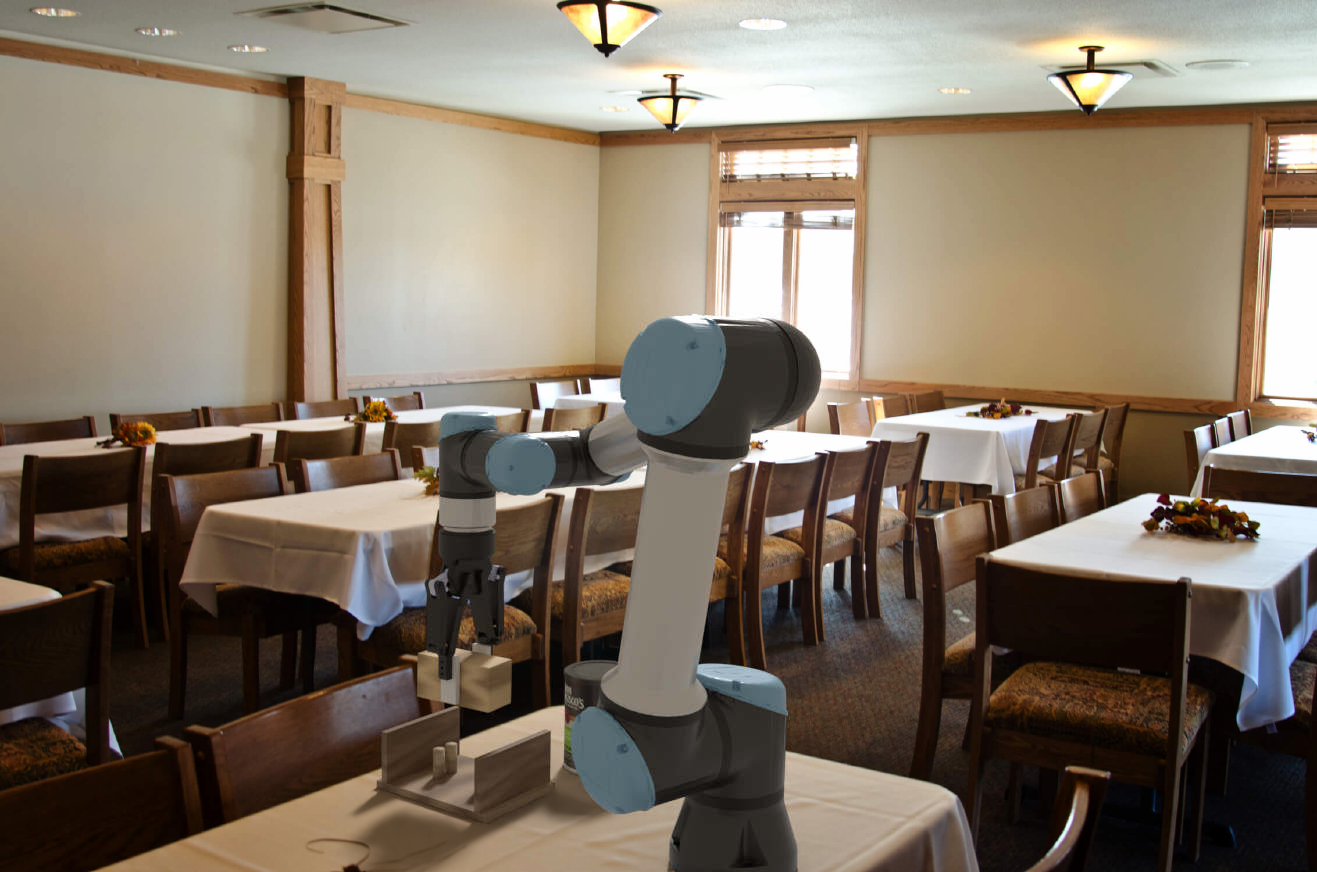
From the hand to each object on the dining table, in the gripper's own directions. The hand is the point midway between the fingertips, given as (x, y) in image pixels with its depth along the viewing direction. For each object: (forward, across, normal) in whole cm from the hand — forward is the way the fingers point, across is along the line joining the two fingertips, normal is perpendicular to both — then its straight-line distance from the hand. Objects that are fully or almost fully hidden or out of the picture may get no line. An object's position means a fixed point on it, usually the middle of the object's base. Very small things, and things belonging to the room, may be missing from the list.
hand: (465, 696), depth 159 cm
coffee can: (+13, -18, +9) cm, 24 cm away
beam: (0, 0, 0) cm, 1 cm away
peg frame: (+13, 0, 0) cm, 13 cm away
